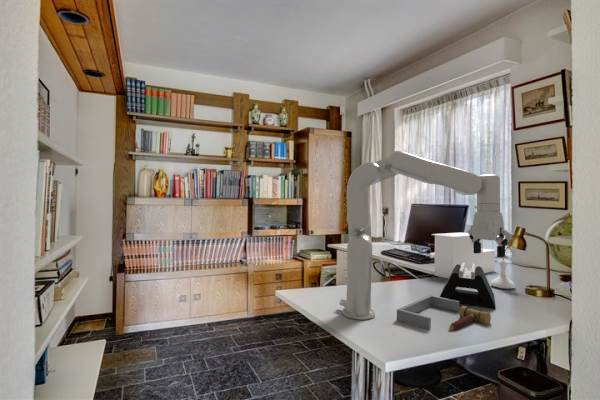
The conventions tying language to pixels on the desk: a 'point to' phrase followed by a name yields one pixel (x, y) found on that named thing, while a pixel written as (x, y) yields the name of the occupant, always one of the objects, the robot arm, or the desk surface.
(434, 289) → the desk surface
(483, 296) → the device stand
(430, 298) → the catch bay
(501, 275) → the flower in vase
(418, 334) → the desk surface
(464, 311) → the gavel
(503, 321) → the desk surface
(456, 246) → the white stepped block
